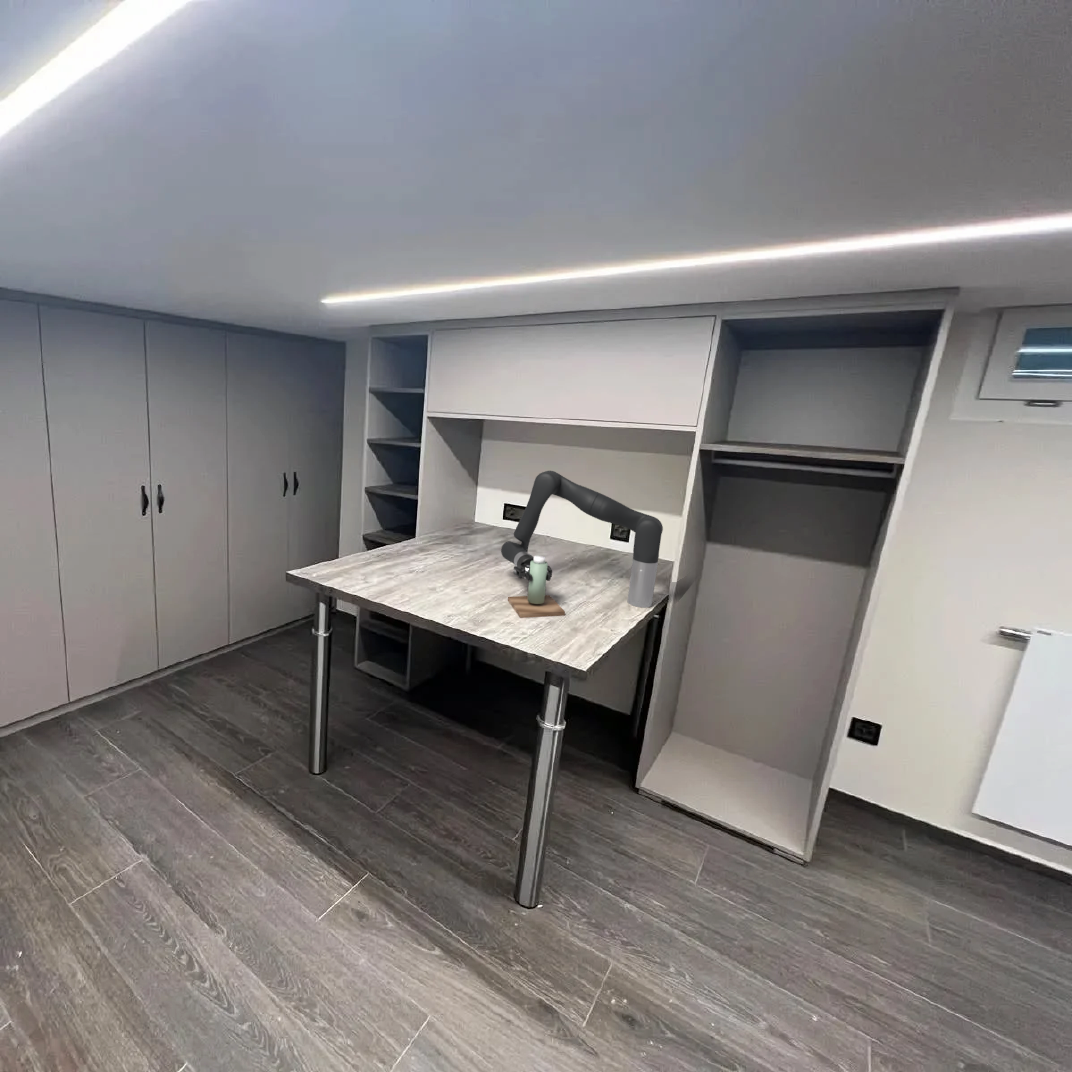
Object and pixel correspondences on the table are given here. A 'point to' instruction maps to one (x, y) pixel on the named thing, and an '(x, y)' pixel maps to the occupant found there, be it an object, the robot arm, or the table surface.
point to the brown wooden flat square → (535, 607)
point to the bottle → (537, 580)
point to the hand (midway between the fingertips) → (540, 578)
